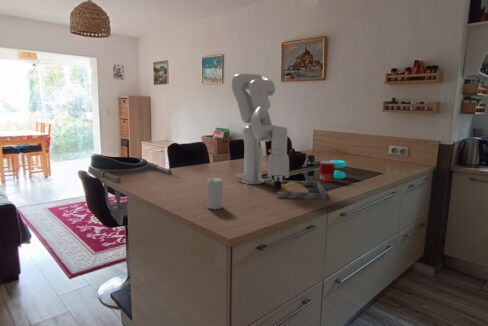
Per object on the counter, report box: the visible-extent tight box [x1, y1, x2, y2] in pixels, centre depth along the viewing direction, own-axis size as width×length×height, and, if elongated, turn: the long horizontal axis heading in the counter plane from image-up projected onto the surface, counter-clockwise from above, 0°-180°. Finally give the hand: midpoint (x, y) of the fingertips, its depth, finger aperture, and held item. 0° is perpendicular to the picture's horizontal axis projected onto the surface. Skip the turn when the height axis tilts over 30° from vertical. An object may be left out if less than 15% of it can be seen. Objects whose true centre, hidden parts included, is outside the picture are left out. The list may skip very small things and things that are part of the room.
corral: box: [275, 180, 329, 200], centre depth 162 cm, size 23×24×2 cm
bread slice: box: [278, 180, 310, 193], centre depth 163 cm, size 18×18×4 cm
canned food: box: [319, 160, 336, 183], centre depth 186 cm, size 8×8×11 cm
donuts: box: [330, 159, 347, 180], centre depth 195 cm, size 10×10×10 cm
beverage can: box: [206, 177, 224, 211], centre depth 133 cm, size 6×6×12 cm
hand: (277, 188), depth 162 cm, fingers closed
